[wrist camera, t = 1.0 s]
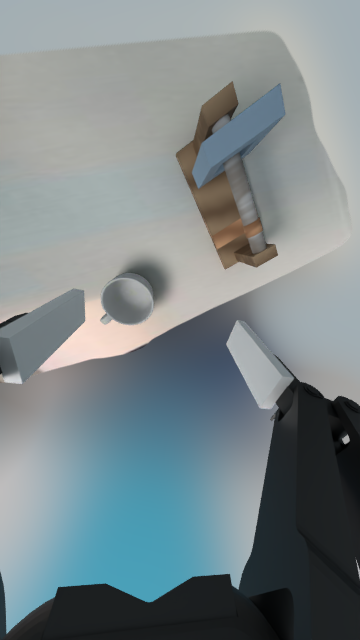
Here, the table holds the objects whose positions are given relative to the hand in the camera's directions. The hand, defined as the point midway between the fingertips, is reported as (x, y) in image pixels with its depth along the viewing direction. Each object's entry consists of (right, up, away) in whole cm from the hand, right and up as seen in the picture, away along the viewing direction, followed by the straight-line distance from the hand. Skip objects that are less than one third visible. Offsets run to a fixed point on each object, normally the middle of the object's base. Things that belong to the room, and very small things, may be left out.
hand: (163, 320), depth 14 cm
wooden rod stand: (+11, +24, +19) cm, 32 cm away
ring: (+8, +26, +13) cm, 30 cm away
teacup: (-11, +6, +27) cm, 30 cm away
